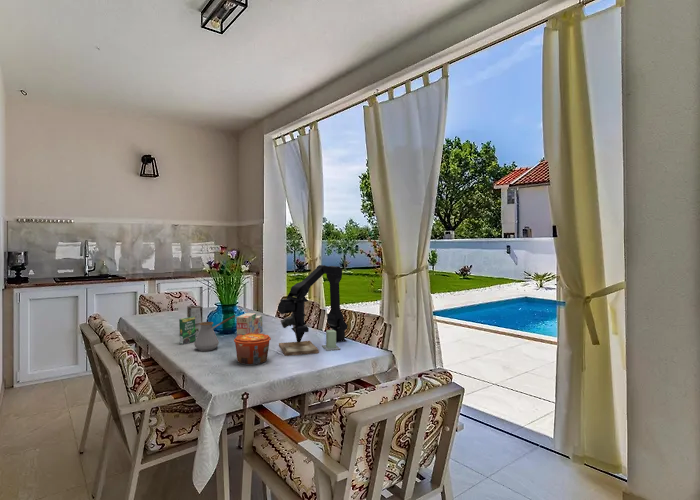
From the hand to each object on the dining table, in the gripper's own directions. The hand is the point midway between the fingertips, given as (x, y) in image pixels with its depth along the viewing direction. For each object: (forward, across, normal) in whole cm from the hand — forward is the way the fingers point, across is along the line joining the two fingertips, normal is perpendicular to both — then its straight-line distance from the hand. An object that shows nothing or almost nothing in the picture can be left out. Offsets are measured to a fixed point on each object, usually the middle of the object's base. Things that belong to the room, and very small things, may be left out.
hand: (298, 343), depth 209 cm
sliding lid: (+2, +4, 0) cm, 4 cm away
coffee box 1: (+4, -48, -49) cm, 69 cm away
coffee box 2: (+4, -31, -52) cm, 61 cm away
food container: (+4, +12, -23) cm, 26 cm away
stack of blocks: (+4, -40, -20) cm, 44 cm away
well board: (+3, -1, 0) cm, 3 cm away
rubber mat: (+3, +2, +16) cm, 16 cm away
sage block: (+3, +2, +16) cm, 16 cm away
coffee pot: (+4, -17, -38) cm, 42 cm away
